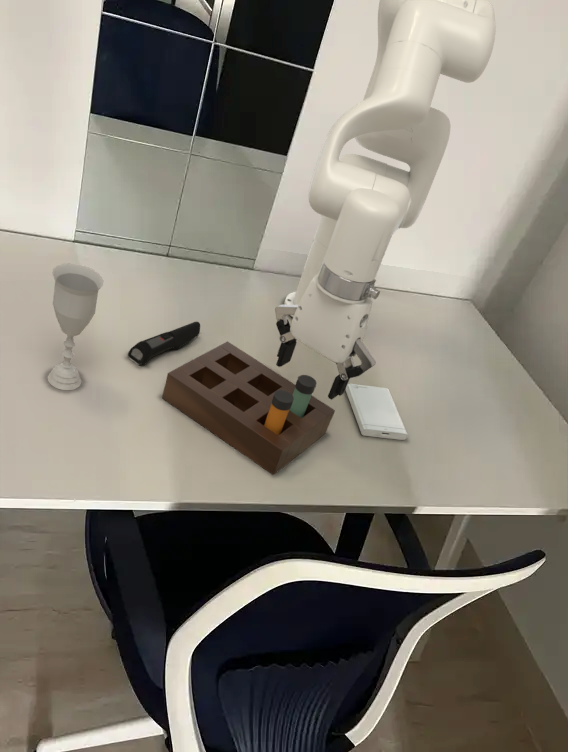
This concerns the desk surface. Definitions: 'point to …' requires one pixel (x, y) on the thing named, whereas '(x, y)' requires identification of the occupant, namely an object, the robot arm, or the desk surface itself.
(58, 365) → the chalice
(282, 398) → the amber tube
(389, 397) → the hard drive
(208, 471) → the desk surface
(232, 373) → the rack
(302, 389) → the sage tube
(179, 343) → the electric trimmer
